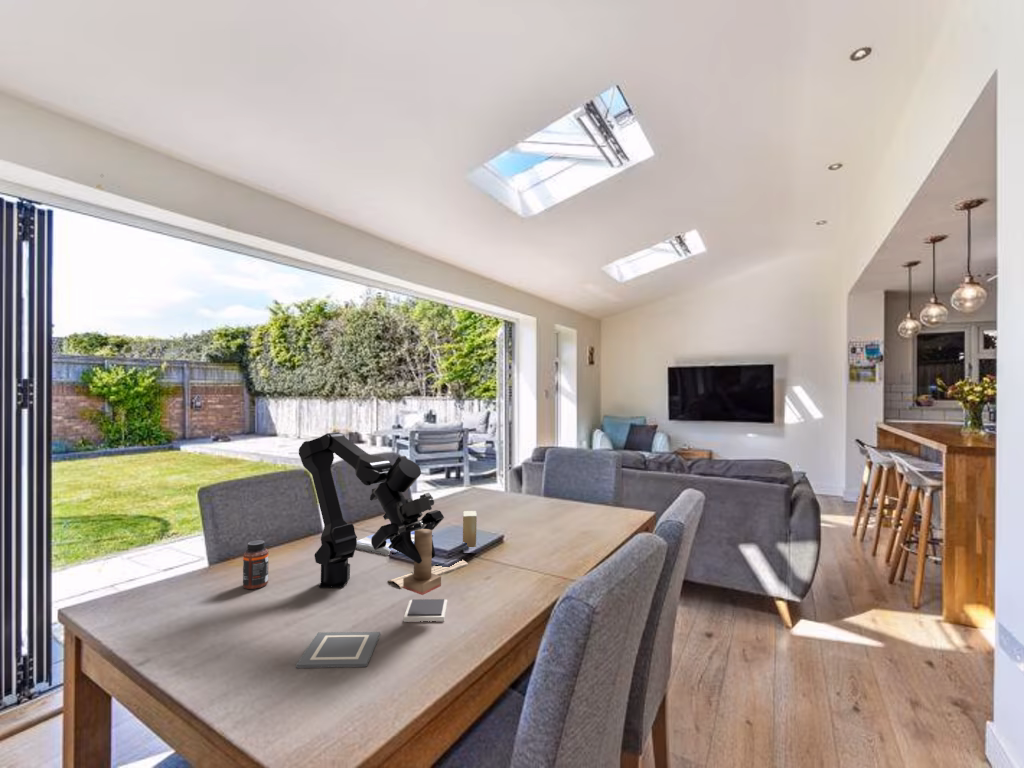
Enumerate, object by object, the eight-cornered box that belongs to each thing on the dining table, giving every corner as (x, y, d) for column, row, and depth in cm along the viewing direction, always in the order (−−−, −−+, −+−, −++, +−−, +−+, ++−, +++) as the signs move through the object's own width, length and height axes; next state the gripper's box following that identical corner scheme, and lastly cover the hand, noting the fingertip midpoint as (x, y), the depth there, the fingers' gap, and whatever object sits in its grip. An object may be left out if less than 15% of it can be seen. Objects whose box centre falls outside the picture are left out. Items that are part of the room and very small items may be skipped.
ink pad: (403, 621, 110) (403, 615, 110) (410, 604, 119) (410, 598, 119) (444, 621, 111) (444, 615, 111) (447, 603, 120) (447, 597, 120)
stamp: (403, 588, 112) (404, 532, 112) (422, 579, 117) (423, 526, 117) (422, 595, 109) (423, 537, 109) (440, 586, 114) (442, 530, 114)
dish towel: (348, 549, 160) (348, 540, 160) (396, 530, 181) (396, 523, 181) (389, 558, 152) (389, 549, 152) (434, 538, 173) (435, 529, 173)
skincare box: (462, 547, 161) (463, 510, 161) (476, 547, 161) (476, 510, 161) (462, 554, 154) (462, 515, 154) (476, 554, 155) (476, 515, 155)
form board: (296, 667, 92) (296, 664, 92) (318, 635, 104) (318, 632, 104) (366, 666, 93) (366, 663, 93) (380, 634, 104) (380, 631, 104)
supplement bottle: (273, 583, 130) (274, 540, 131) (253, 591, 125) (253, 547, 125) (257, 579, 133) (258, 537, 133) (237, 587, 128) (238, 543, 128)
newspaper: (400, 591, 128) (400, 584, 128) (385, 583, 133) (385, 577, 133) (468, 567, 145) (468, 561, 145) (452, 561, 150) (452, 555, 150)
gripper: (380, 490, 107) (416, 551, 101) (439, 477, 123) (473, 529, 117) (356, 519, 112) (389, 580, 106) (415, 504, 127) (447, 555, 121)
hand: (427, 559), depth 112 cm, fingers closed on stamp, 4 cm apart
